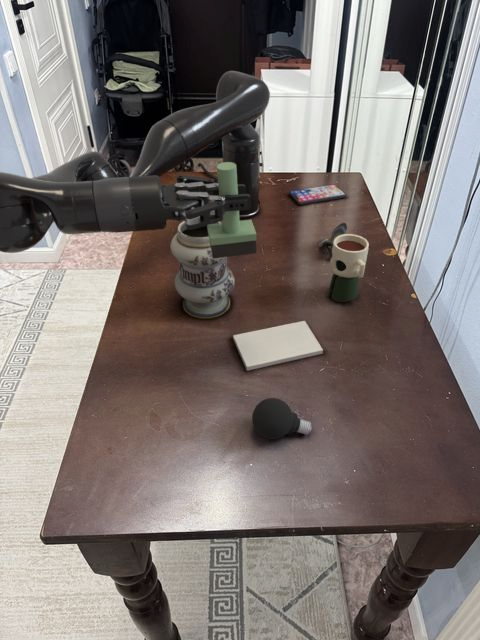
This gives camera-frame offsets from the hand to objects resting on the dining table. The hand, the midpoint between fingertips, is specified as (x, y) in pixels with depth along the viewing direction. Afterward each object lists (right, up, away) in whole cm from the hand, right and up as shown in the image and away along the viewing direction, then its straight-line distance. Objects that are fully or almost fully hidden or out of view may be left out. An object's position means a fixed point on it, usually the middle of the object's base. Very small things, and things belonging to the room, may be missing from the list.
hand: (247, 196), depth 74 cm
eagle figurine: (+19, +1, +46) cm, 49 cm away
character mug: (+20, -11, +33) cm, 40 cm away
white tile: (+5, -22, +20) cm, 31 cm away
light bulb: (+5, -36, +6) cm, 37 cm away
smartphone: (+18, +21, +66) cm, 72 cm away
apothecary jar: (-10, -13, +29) cm, 34 cm away
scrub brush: (-3, -7, +5) cm, 9 cm away
